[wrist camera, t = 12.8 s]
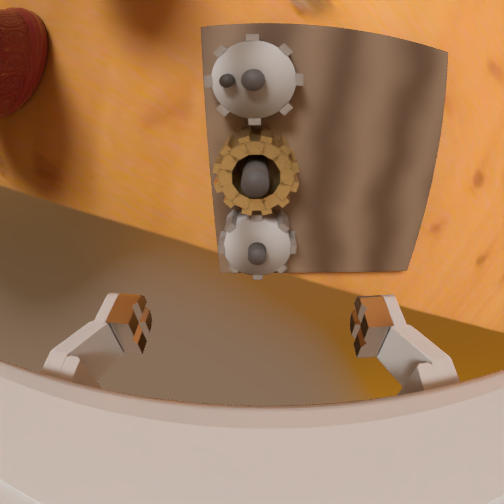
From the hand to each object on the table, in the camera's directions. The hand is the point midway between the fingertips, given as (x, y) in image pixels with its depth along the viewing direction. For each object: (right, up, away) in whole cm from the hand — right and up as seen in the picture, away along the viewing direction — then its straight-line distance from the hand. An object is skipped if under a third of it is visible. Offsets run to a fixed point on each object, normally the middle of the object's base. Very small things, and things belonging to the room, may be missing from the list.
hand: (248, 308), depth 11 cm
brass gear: (+1, +10, +14) cm, 17 cm away
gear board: (+7, +11, +15) cm, 20 cm away
